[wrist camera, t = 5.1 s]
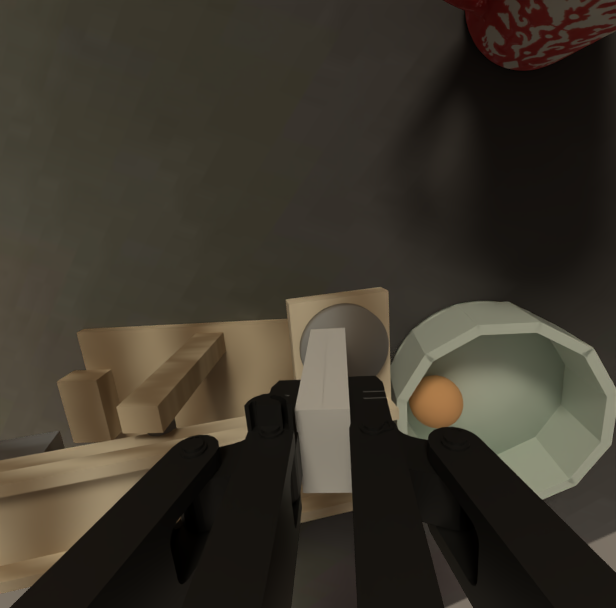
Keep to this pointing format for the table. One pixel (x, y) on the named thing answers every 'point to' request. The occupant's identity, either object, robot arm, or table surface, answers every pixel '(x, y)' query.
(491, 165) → the table surface
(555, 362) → the bowl
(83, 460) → the lever
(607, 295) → the table surface
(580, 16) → the mug
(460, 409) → the ball
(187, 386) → the stand
